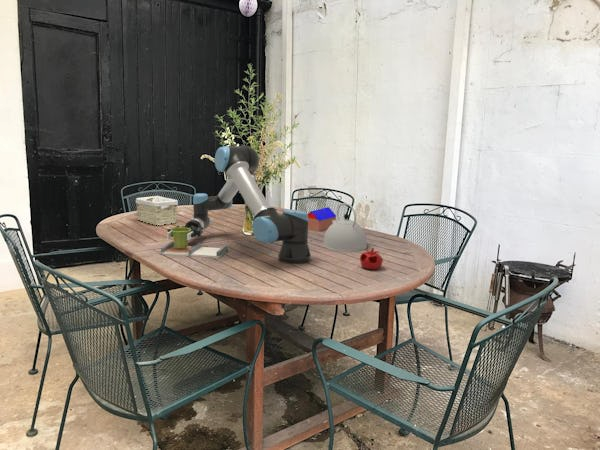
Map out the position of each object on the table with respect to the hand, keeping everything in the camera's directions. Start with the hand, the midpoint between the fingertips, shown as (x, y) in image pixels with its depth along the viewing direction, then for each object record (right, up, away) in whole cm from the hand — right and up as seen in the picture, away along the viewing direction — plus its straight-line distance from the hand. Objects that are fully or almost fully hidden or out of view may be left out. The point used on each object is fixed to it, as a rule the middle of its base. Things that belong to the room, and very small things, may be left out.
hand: (177, 236), depth 226 cm
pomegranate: (+89, -14, -11) cm, 91 cm away
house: (+69, +4, +69) cm, 98 cm away
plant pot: (0, -5, +6) cm, 8 cm away
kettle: (+81, -6, +27) cm, 85 cm away
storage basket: (-31, +7, +71) cm, 78 cm away
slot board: (+7, -8, +5) cm, 12 cm away
